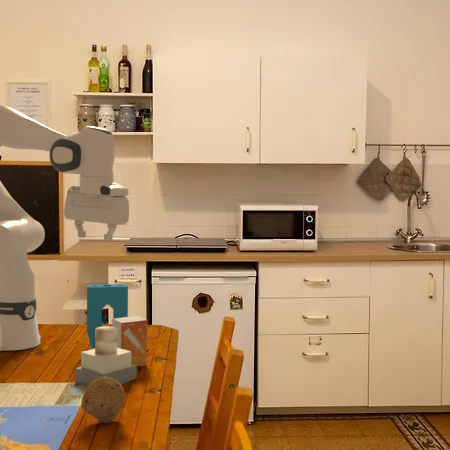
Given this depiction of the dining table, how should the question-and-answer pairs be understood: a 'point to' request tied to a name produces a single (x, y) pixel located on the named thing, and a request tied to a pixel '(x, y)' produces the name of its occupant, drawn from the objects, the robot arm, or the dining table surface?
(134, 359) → the small box
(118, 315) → the block
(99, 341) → the beige rounded cylinder
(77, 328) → the dining table surface
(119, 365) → the tower top
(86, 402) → the natural sponge
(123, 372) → the tower base
